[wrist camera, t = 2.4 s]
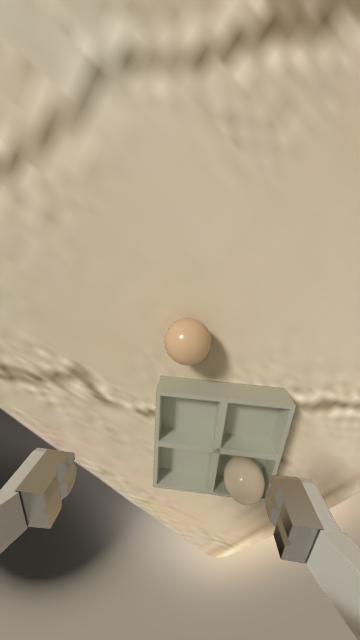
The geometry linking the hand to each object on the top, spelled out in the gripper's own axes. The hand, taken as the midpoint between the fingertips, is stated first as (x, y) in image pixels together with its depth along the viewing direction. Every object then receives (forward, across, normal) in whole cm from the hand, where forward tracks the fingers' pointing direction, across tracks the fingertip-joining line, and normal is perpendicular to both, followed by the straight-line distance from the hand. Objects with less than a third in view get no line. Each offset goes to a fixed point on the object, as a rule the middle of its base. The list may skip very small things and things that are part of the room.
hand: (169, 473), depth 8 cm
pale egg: (+15, -8, +17) cm, 24 cm away
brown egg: (+16, 0, 0) cm, 16 cm away
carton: (+16, -5, +13) cm, 21 cm away
